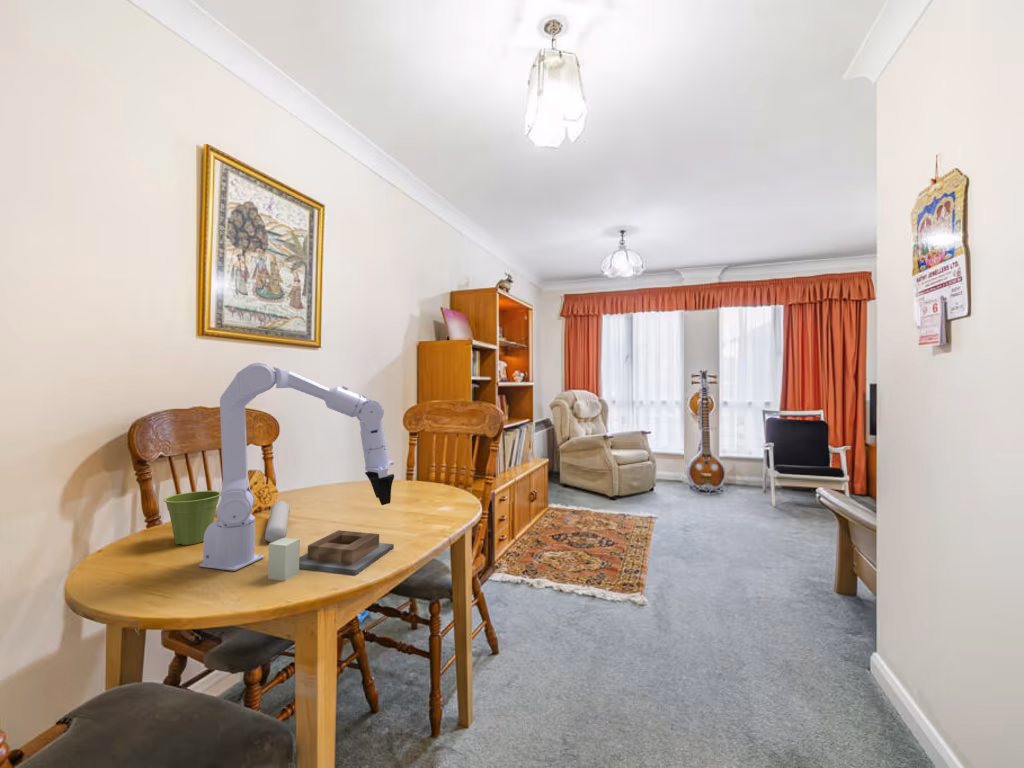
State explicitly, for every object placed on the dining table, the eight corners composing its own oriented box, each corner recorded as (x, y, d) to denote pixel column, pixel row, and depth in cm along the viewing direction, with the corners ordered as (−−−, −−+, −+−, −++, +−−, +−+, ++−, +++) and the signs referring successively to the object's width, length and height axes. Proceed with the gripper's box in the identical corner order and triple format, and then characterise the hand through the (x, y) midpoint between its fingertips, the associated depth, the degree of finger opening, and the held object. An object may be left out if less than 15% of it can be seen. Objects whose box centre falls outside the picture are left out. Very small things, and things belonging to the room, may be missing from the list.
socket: (289, 567, 94) (289, 548, 94) (335, 542, 110) (335, 526, 110) (356, 574, 91) (356, 555, 91) (393, 548, 106) (394, 531, 106)
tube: (290, 527, 110) (293, 503, 132) (267, 523, 108) (274, 499, 130) (282, 548, 109) (286, 520, 132) (259, 544, 107) (267, 516, 129)
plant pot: (208, 530, 118) (208, 488, 118) (229, 538, 112) (230, 494, 112) (154, 542, 108) (155, 497, 109) (174, 552, 102) (175, 504, 102)
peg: (268, 578, 89) (268, 543, 89) (282, 571, 92) (283, 537, 93) (285, 580, 88) (285, 545, 88) (299, 573, 92) (299, 539, 92)
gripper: (396, 447, 105) (405, 502, 106) (386, 441, 118) (393, 490, 119) (366, 453, 102) (375, 510, 103) (358, 446, 115) (366, 496, 116)
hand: (383, 500), depth 111 cm, fingers open, 7 cm apart
